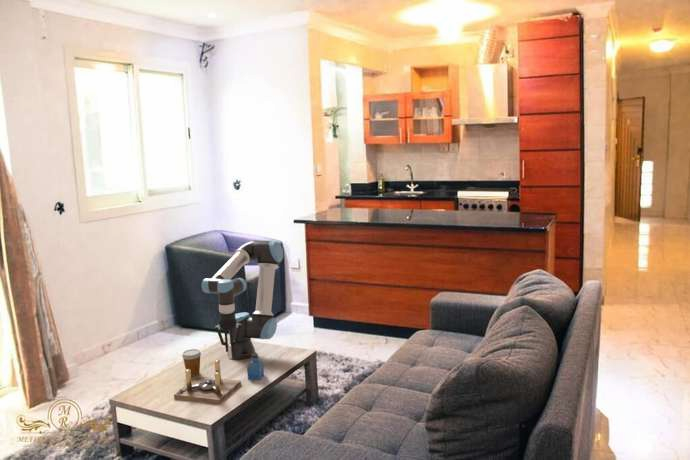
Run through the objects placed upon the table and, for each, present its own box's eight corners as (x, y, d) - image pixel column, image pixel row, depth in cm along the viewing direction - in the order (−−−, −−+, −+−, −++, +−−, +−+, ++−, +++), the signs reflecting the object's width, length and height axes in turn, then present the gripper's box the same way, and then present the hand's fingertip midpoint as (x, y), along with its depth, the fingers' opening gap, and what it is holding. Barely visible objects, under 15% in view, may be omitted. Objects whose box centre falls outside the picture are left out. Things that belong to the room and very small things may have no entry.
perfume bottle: (259, 380, 286) (258, 357, 284) (248, 379, 288) (246, 357, 286) (264, 375, 292) (262, 352, 290) (252, 374, 294) (251, 352, 292)
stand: (198, 379, 290) (197, 372, 289) (241, 384, 282) (240, 377, 282) (174, 398, 270) (173, 391, 269) (219, 404, 263) (218, 396, 262)
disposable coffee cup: (202, 369, 302) (200, 347, 300) (202, 376, 293) (200, 354, 291) (184, 371, 300) (182, 350, 298) (183, 379, 291) (181, 356, 289)
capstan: (203, 376, 288) (202, 358, 286) (235, 379, 282) (234, 361, 281) (186, 390, 273) (184, 371, 271) (219, 393, 267) (217, 374, 266)
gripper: (240, 308, 284) (243, 353, 288) (213, 310, 282) (216, 356, 285) (240, 312, 277) (243, 359, 281) (213, 315, 274) (216, 362, 278)
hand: (230, 357), depth 283 cm, fingers closed
